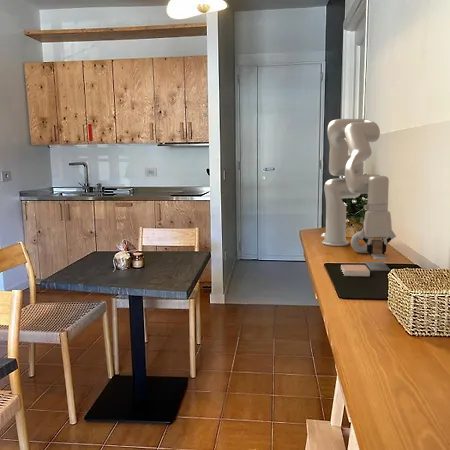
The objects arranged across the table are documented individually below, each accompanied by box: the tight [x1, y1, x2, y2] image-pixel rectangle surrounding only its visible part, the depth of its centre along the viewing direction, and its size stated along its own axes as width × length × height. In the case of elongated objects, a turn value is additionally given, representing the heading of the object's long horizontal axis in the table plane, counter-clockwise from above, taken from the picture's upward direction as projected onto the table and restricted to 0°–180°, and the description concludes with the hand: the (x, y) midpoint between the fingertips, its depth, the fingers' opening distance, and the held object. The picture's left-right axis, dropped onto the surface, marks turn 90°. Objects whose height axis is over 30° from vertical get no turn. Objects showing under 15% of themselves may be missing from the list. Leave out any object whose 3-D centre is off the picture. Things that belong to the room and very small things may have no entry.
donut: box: [350, 230, 375, 254], centre depth 198 cm, size 10×3×10 cm, turn 81°
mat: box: [364, 261, 392, 272], centre depth 175 cm, size 12×7×1 cm, turn 174°
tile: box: [340, 264, 371, 277], centre depth 168 cm, size 2×9×9 cm
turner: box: [370, 238, 388, 261], centre depth 174 cm, size 10×4×6 cm, turn 174°
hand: (376, 253), depth 177 cm, fingers closed on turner, 4 cm apart
